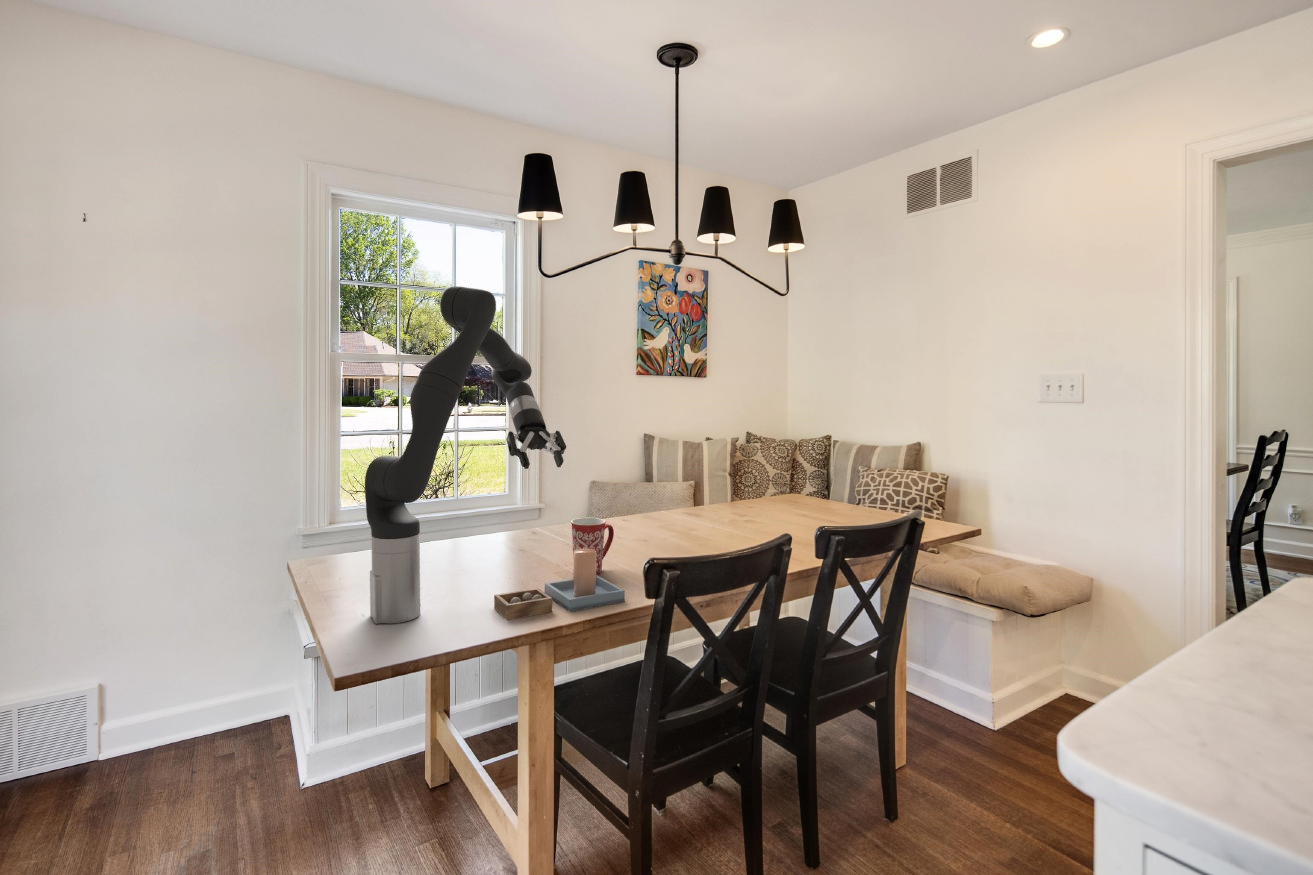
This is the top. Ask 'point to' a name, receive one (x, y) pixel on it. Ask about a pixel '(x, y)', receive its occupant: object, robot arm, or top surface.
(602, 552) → the mug
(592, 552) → the wooden block
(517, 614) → the parts tray
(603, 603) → the dish
